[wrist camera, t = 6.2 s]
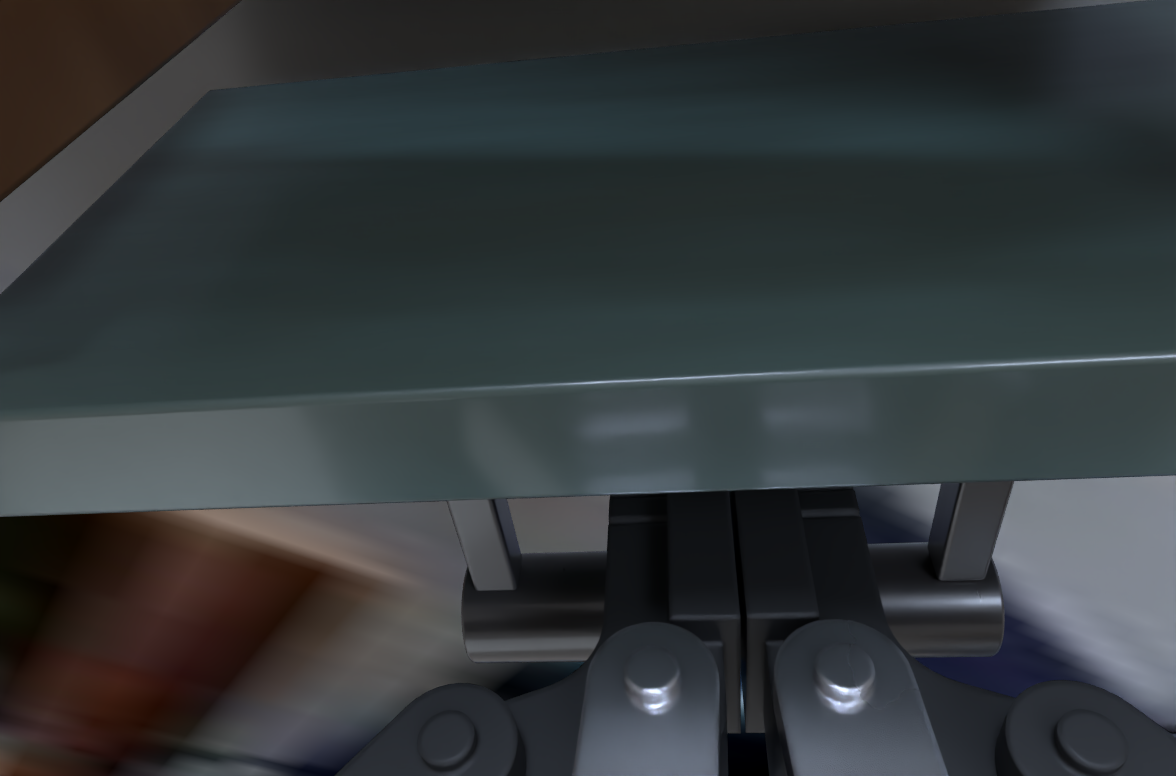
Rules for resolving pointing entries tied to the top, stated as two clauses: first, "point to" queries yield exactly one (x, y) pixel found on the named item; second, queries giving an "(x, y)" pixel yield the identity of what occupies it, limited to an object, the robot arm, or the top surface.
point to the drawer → (607, 288)
